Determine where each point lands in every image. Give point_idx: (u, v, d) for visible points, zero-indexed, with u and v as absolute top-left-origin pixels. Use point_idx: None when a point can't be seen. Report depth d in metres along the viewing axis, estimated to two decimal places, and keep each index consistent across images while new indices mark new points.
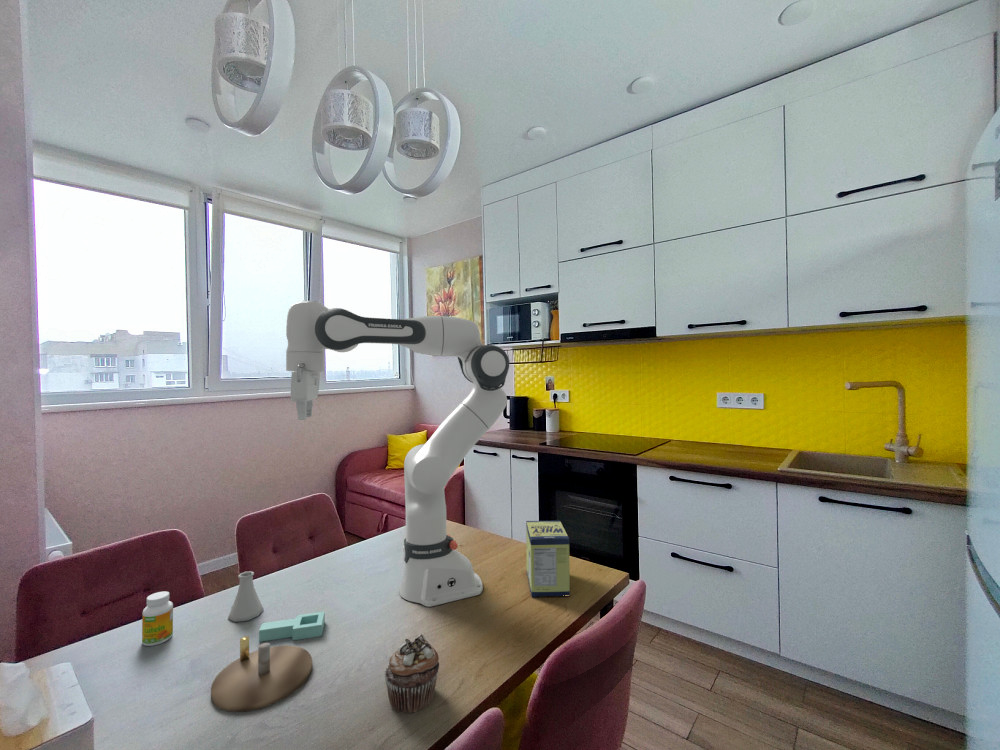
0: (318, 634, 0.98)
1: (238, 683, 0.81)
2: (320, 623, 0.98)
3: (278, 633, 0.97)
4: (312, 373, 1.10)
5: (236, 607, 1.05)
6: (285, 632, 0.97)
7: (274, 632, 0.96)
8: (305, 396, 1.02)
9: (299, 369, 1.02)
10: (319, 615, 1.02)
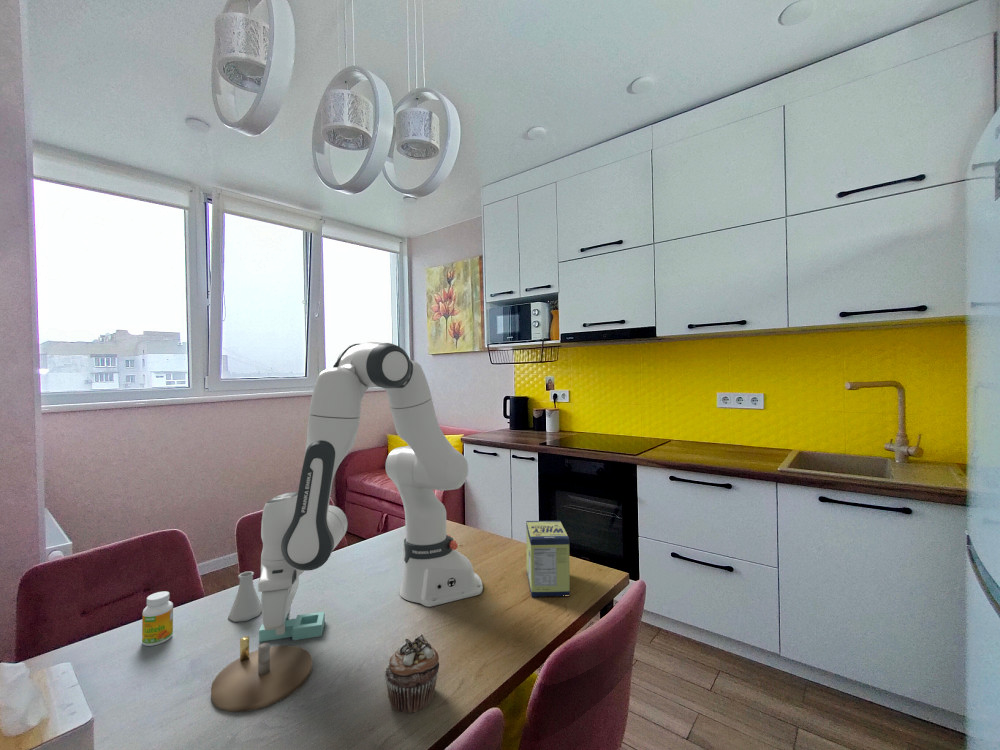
0: (318, 634, 0.98)
1: (238, 683, 0.81)
2: (320, 623, 0.98)
3: None
4: None
5: (236, 607, 1.05)
6: (285, 632, 0.97)
7: (274, 632, 0.96)
8: None
9: None
10: (319, 615, 1.02)
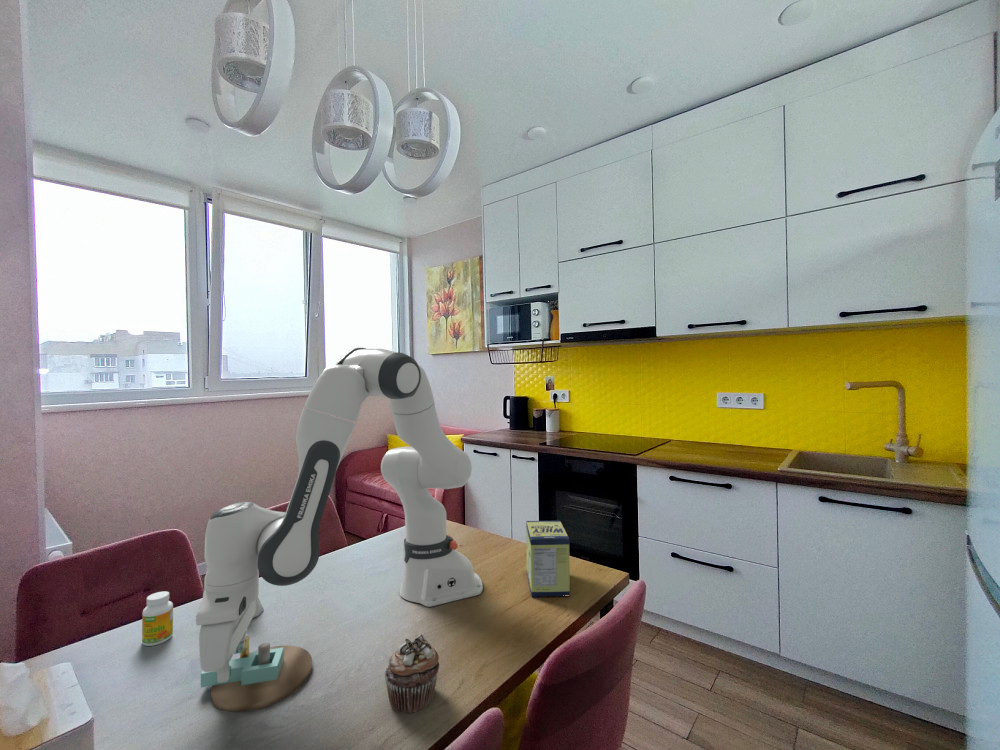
0: (273, 677, 0.81)
1: (238, 683, 0.81)
2: (276, 664, 0.82)
3: None
4: None
5: None
6: (232, 675, 0.81)
7: None
8: None
9: None
10: (276, 653, 0.86)
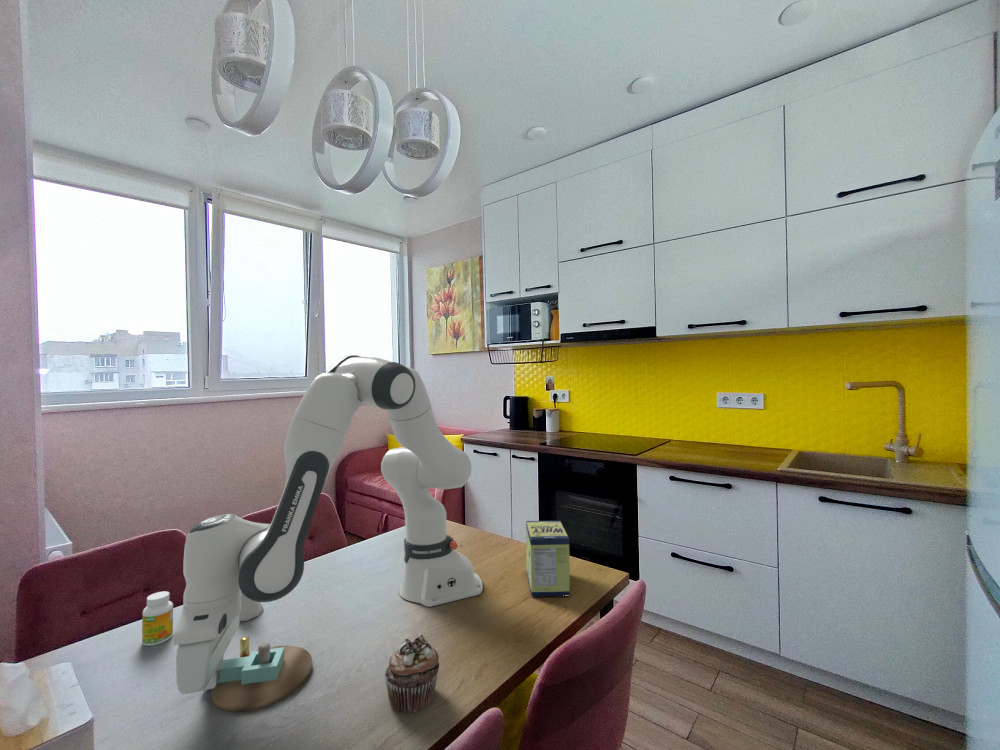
0: (272, 677, 0.81)
1: (238, 683, 0.81)
2: (275, 664, 0.82)
3: (225, 675, 0.81)
4: None
5: None
6: (233, 674, 0.81)
7: None
8: None
9: None
10: (277, 652, 0.86)
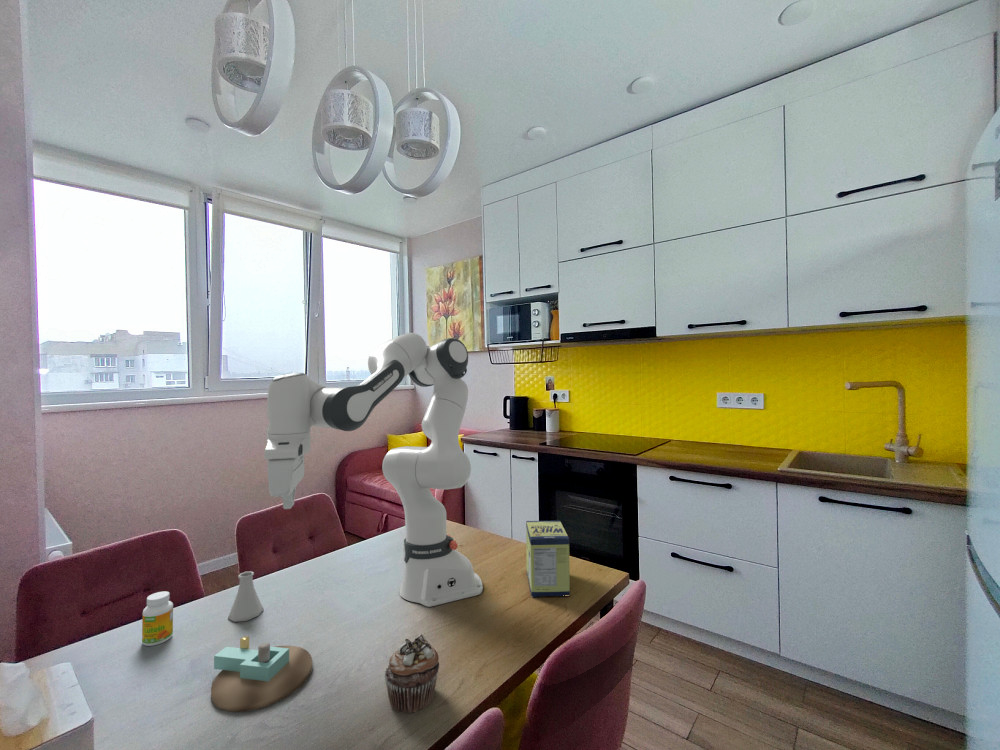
0: (265, 678, 0.81)
1: (238, 683, 0.81)
2: (269, 665, 0.82)
3: (231, 664, 0.84)
4: None
5: (236, 607, 1.05)
6: (237, 664, 0.84)
7: (228, 662, 0.84)
8: None
9: None
10: (279, 653, 0.86)
